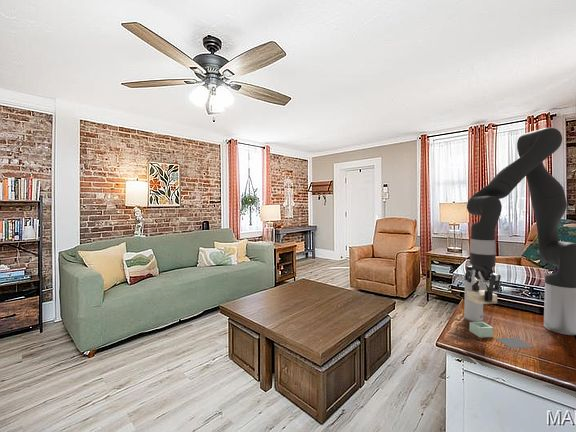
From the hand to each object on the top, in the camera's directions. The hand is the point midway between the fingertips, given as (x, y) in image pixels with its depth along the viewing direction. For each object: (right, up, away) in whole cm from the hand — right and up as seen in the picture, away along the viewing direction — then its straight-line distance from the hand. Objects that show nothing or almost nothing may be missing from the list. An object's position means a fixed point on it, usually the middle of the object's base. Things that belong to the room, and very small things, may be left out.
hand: (481, 298), depth 99 cm
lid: (0, -1, 0) cm, 1 cm away
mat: (+7, -14, -6) cm, 17 cm away
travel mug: (+6, -13, +13) cm, 20 cm away
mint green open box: (0, -14, +1) cm, 14 cm away
